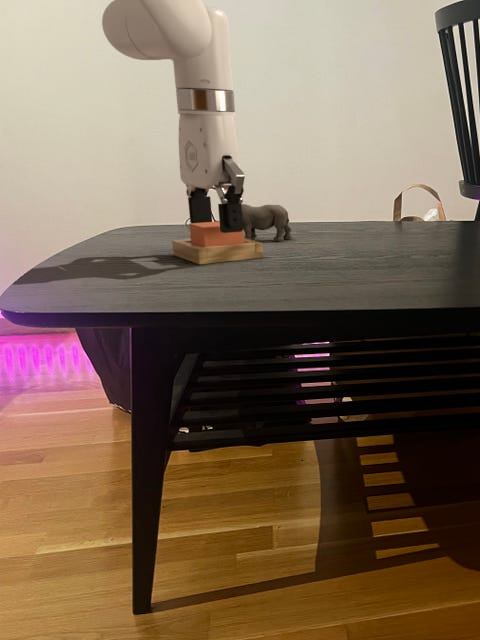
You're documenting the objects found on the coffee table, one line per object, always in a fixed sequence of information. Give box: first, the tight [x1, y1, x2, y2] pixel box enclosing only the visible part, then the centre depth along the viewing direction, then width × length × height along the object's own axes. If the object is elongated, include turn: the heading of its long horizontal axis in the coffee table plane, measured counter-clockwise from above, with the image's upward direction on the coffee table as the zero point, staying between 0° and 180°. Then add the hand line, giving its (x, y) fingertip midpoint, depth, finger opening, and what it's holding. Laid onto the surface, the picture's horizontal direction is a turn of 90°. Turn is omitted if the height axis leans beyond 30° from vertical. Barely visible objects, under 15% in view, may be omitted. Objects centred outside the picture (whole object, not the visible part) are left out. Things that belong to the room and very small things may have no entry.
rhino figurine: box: [213, 203, 293, 242], centre depth 118 cm, size 4×14×6 cm, turn 107°
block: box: [189, 220, 245, 247], centre depth 104 cm, size 6×5×4 cm
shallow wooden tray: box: [171, 237, 264, 265], centre depth 104 cm, size 10×9×2 cm
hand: (216, 227), depth 103 cm, fingers open, 9 cm apart
